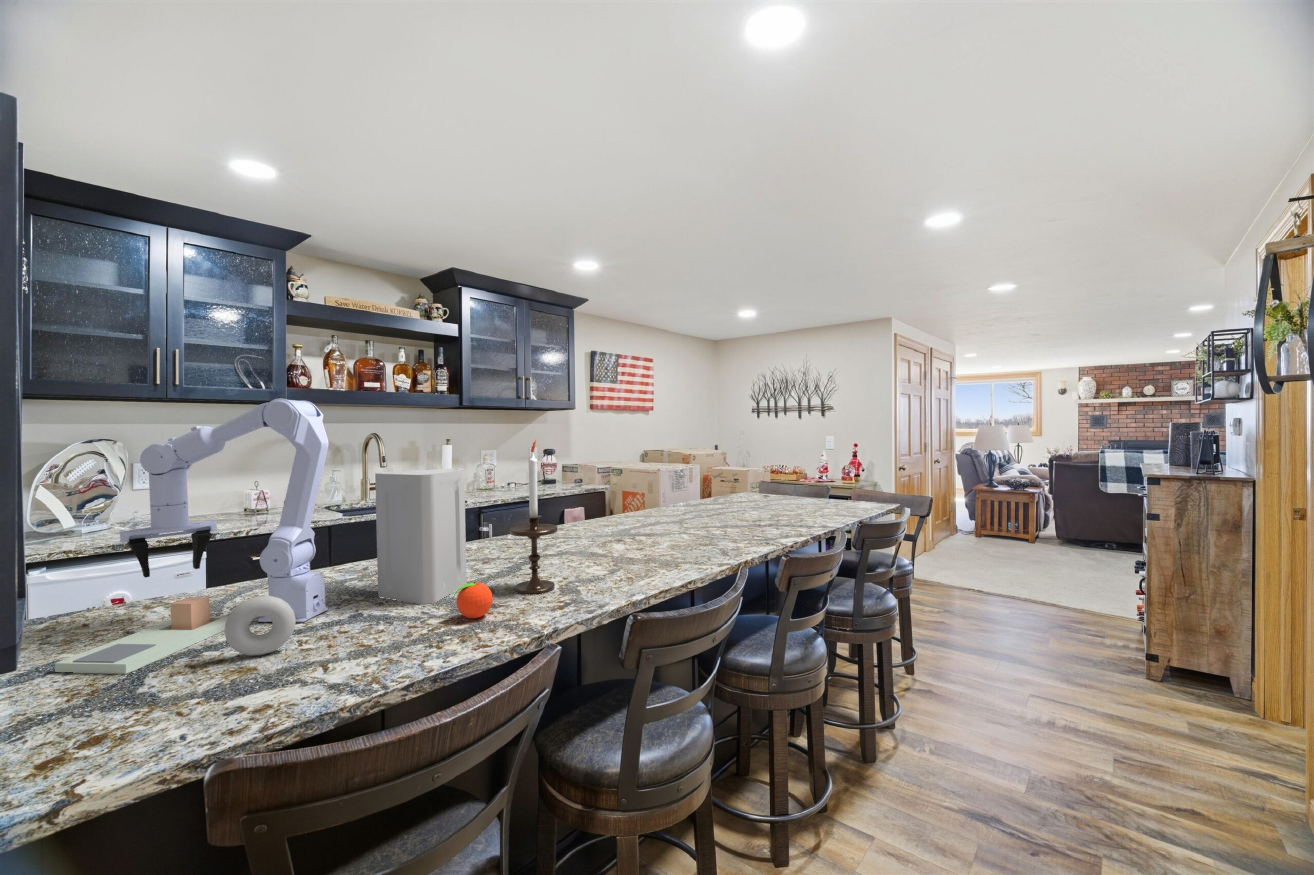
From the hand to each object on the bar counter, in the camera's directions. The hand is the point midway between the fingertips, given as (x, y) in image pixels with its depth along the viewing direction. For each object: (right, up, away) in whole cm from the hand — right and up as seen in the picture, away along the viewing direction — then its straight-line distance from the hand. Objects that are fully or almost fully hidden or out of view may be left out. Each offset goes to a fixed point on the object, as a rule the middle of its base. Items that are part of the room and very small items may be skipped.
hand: (172, 572), depth 113 cm
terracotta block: (+9, -10, -6) cm, 14 cm away
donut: (+30, -10, -17) cm, 36 cm away
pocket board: (+8, -10, -13) cm, 18 cm away
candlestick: (+68, -9, +19) cm, 72 cm away
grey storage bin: (+44, -9, +16) cm, 48 cm away
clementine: (+60, -9, 0) cm, 61 cm away
